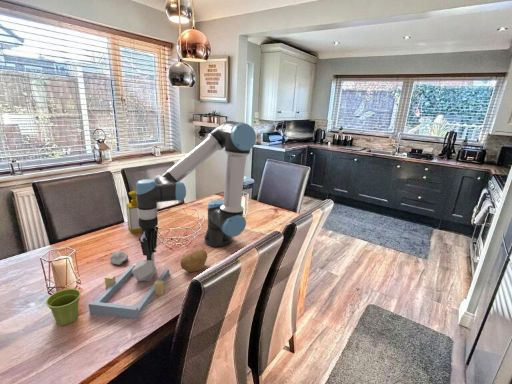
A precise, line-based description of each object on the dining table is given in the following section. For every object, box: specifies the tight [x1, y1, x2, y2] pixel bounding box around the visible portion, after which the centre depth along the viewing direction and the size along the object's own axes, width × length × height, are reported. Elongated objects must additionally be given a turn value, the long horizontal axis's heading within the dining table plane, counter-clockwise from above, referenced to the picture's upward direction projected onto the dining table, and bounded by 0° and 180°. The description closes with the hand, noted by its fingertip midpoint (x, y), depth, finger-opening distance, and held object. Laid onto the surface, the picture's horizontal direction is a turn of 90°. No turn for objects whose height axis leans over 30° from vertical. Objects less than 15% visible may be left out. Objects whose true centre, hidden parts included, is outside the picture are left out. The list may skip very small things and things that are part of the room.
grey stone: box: [109, 249, 129, 266], centre depth 128 cm, size 9×8×5 cm
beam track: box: [88, 264, 170, 320], centre depth 108 cm, size 23×28×5 cm
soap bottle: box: [126, 190, 142, 235], centre depth 159 cm, size 7×13×24 cm, turn 125°
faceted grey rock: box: [132, 259, 157, 282], centre depth 116 cm, size 8×9×10 cm
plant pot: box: [45, 288, 82, 326], centre depth 92 cm, size 9×9×9 cm
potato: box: [180, 249, 208, 273], centre depth 125 cm, size 10×14×8 cm
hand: (150, 266), depth 122 cm, fingers closed
